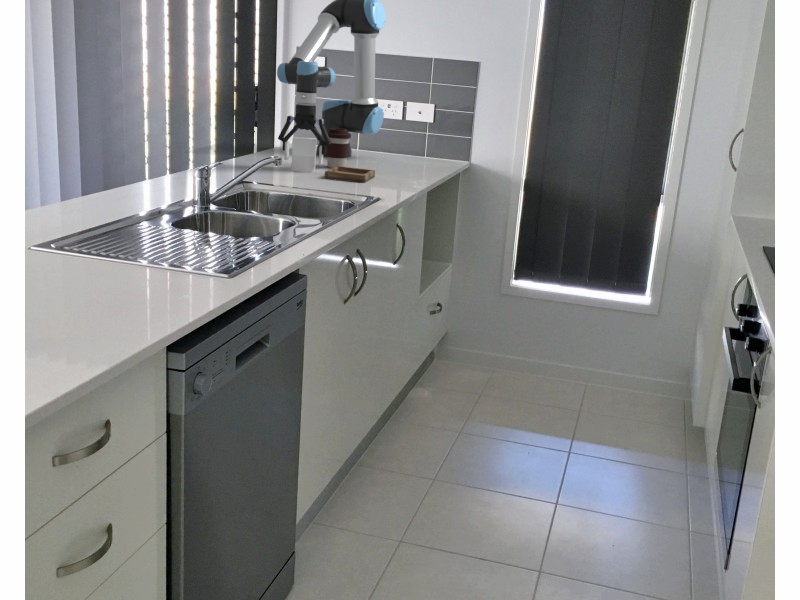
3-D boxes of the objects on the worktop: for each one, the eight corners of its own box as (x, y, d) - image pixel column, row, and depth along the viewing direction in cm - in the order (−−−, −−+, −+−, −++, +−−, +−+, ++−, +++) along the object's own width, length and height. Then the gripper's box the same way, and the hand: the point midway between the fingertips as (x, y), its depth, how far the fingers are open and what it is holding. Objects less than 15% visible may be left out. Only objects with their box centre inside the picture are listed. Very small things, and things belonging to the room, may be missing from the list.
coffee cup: (348, 170, 330) (350, 131, 326) (322, 168, 330) (324, 129, 326) (350, 166, 340) (352, 128, 335) (325, 164, 340) (327, 126, 335)
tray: (336, 172, 323) (336, 166, 322) (374, 176, 320) (375, 170, 319) (324, 178, 309) (324, 171, 308) (364, 182, 306) (364, 175, 305)
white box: (314, 168, 328) (315, 137, 325) (316, 172, 320) (317, 140, 316) (290, 167, 327) (291, 136, 323) (292, 171, 318) (293, 139, 315)
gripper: (270, 101, 315) (269, 159, 321) (335, 107, 310) (332, 166, 317) (277, 100, 322) (276, 156, 328) (341, 106, 317) (338, 163, 324)
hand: (303, 161), depth 322 cm, fingers open, 13 cm apart
